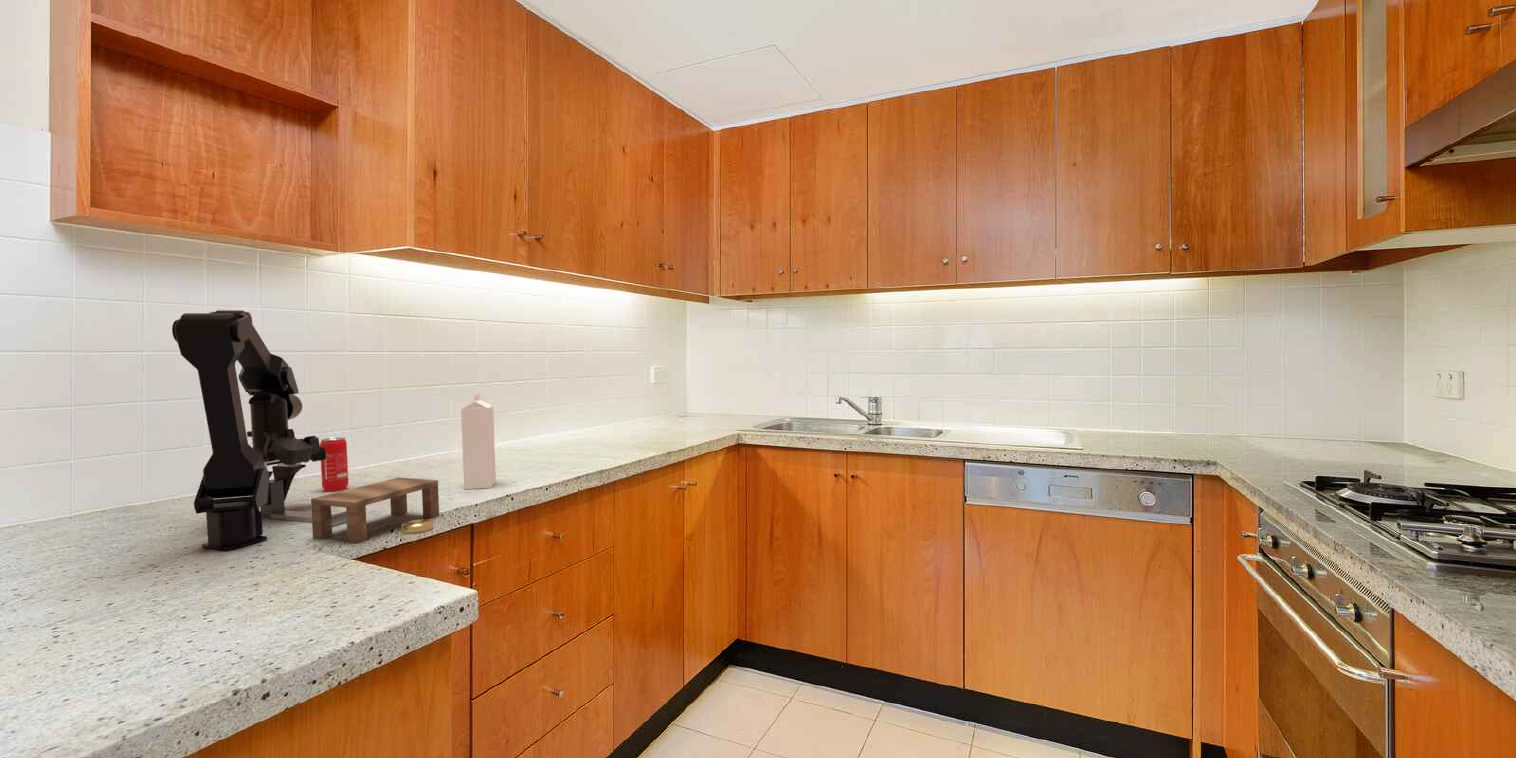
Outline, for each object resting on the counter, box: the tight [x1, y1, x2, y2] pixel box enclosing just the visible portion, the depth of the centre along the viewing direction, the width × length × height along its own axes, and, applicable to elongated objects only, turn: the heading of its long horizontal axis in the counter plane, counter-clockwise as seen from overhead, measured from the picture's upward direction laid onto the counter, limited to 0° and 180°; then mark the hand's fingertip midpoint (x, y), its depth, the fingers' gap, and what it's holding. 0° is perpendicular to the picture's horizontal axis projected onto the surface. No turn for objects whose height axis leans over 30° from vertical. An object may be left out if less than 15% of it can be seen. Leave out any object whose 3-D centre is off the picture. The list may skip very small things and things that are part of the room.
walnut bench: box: [310, 477, 440, 544], centre depth 117 cm, size 18×10×7 cm, turn 163°
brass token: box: [401, 518, 434, 535], centre depth 114 cm, size 5×5×2 cm
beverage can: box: [319, 437, 349, 493], centre depth 148 cm, size 5×5×12 cm
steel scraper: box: [260, 478, 347, 527], centre depth 122 cm, size 6×20×7 cm, turn 73°
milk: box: [460, 393, 497, 490], centre depth 149 cm, size 6×6×22 cm
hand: (274, 503), depth 125 cm, fingers closed on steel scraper, 2 cm apart
